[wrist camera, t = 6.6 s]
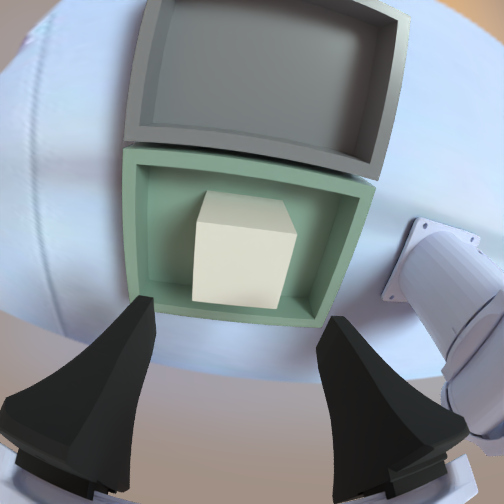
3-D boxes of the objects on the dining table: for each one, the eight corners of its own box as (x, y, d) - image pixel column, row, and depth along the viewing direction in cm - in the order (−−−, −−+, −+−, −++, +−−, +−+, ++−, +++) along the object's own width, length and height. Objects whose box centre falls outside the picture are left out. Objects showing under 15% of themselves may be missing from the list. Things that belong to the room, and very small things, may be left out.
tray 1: (385, 26, 11) (410, 16, 8) (356, 167, 16) (378, 181, 14) (172, -17, 9) (160, -38, 7) (143, 133, 15) (123, 141, 12)
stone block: (282, 200, 17) (297, 234, 13) (268, 263, 19) (276, 309, 15) (207, 190, 16) (196, 221, 12) (200, 256, 18) (192, 300, 14)
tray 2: (354, 172, 17) (376, 187, 14) (312, 300, 22) (321, 327, 19) (142, 139, 15) (123, 148, 12) (142, 280, 20) (130, 307, 17)
